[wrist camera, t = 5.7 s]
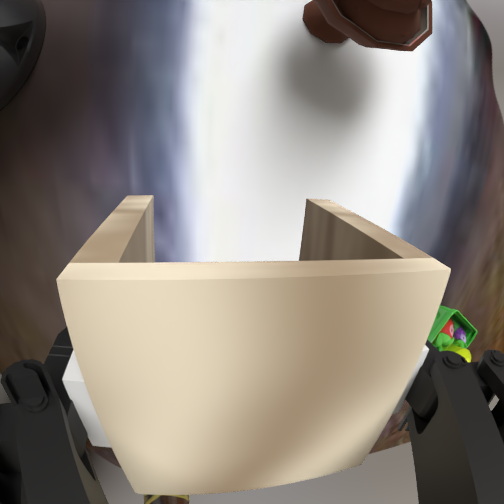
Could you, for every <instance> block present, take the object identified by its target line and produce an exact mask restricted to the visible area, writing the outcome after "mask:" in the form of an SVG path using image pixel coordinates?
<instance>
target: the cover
mask: <svg viewBox="0 0 504 504" xmlns="http://www.w3.org/2000/svg"><path fill="white" fill-rule="evenodd" d="M450 272H451V269H450V268H448V267H447V266H445V265H444V264H442V263H440V262H439V261H437V260H436V259H434V258H432V257H431V256H429V255H427V254H426V253H424V252H422V251H421V250H419V249H417V248H416V247H414V246H412V245H411V244H409V243H407V242H405V241H404V240H402V239H400V238H398V237H397V236H395V235H393V234H391V233H390V232H388V231H386V230H384V229H382V228H381V227H379V226H377V225H375V224H373V223H372V222H370V221H368V220H366V219H364V218H362V217H361V216H359V215H357V214H355V213H353V212H351V211H349V210H347V209H345V208H344V207H342V206H340V205H338V204H336V203H334V202H332V201H330V200H323V199H306V208H305V217H304V225H303V233H302V241H301V249H300V257H299V261H263V262H176V263H155V251H154V219H153V195H142V196H127V197H126V198H125V199H124V200H123V201H122V202H121V203H120V204H119V205H118V206H117V208H116V209H115V210H114V211H113V212H112V213H111V214H110V215H109V216H108V217H107V219H106V220H105V221H104V222H103V223H102V224H101V225H100V227H99V228H98V229H97V230H96V231H95V232H94V233H93V235H92V236H91V237H90V238H89V239H88V240H87V242H86V243H85V244H84V245H83V246H82V248H81V249H80V250H79V251H78V253H77V254H76V255H75V256H74V257H73V259H72V260H71V261H70V262H69V264H68V265H67V266H66V268H65V269H64V270H63V271H62V273H61V274H60V275H59V277H58V278H57V279H56V280H57V285H58V290H59V295H60V299H61V304H62V308H63V312H64V316H65V320H66V324H67V328H68V332H69V335H70V339H71V342H72V346H73V349H74V352H75V356H76V359H77V362H78V365H79V368H80V371H81V374H82V377H83V380H84V383H85V385H86V388H87V391H88V393H89V396H90V399H91V401H92V404H93V406H94V409H95V411H96V414H97V416H98V419H99V421H100V423H101V426H102V428H103V430H104V432H105V435H106V437H107V439H108V441H109V443H110V445H111V447H112V449H113V452H114V454H115V456H116V458H117V460H118V462H119V463H120V465H121V467H122V469H123V471H124V473H125V475H126V477H127V478H128V480H129V482H130V484H131V486H132V487H133V489H134V491H135V493H136V494H150V495H193V494H213V493H226V492H235V491H245V490H252V489H259V488H266V487H272V486H278V485H283V484H289V483H294V482H298V481H303V480H308V479H312V478H316V477H320V476H324V475H328V474H332V473H335V472H339V471H342V470H346V469H349V468H352V467H356V466H359V465H361V464H362V463H363V461H364V460H365V458H366V457H367V455H368V453H369V452H370V450H371V449H372V447H373V445H374V444H375V442H376V441H377V439H378V437H379V436H380V434H381V432H382V430H383V429H384V427H385V425H386V423H387V422H388V420H389V418H390V416H391V415H392V413H393V411H394V409H395V407H396V405H397V403H398V401H399V399H400V398H401V396H402V394H403V392H404V390H405V388H406V386H407V383H408V381H409V379H410V377H411V375H412V373H413V371H414V369H415V366H416V364H417V362H418V360H419V357H420V355H421V353H422V350H423V348H424V346H425V343H426V341H427V338H428V336H429V333H430V331H431V328H432V325H433V323H434V320H435V317H436V315H437V312H438V309H439V306H440V303H441V300H442V297H443V294H444V291H445V288H446V285H447V282H448V278H449V275H450Z"/></svg>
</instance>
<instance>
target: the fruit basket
mask: <svg viewBox="0 0 504 504" xmlns="http://www.w3.org/2000/svg"><path fill="white" fill-rule="evenodd" d="M476 334H477V330H476V329H475V328H474V327H473V326H472V325H471V324H470V323H469V322H468V320H467V319H466V318H465V317H464V316H463V315H462V314H461V313H460V312H459V311H458V310H455V309H449V308H447V307H444V306H441V305H440V306H439V309H438V312H437V315H436V317H435V320H434V323H433V325H432V328H431V331H430V333H429V336H428V338H427V340H429V341H430V342H431V343H432V344H433V345H434V346H435V347H436V348H437V349H438V350H439V351H446V350H448V351H453V352H456V353H458V354H460V355H461V356H463V357H464V358H465V359H466V360H467V362H471V354H470V352H469V350H467V349H466V348H467V347H468V346H469V345H470V343H471V342H472V341H473V339H474V337H475V336H476Z"/></svg>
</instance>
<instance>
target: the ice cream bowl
mask: <svg viewBox="0 0 504 504" xmlns="http://www.w3.org/2000/svg"><path fill="white" fill-rule="evenodd" d="M303 20H304V22H305V24H306V26H307V27H308V29H309V31H310V33H311V34H313V35H314V36H316V37H318V38H319V39H321V40H322V41H324V42H326V43H342V42H343V41H344V40H346V39H347V38H348V37H349V38H351V39H352V40H353V41H355V42H356V43H358V44H359V45H362V46H364V47H370V48H381V49H390V50H398V51H413V50H414V49H415V48H417V47H418V46H419V45H420V44H421V43H422V42H423V41H424V40H425V39H426V38H427V37H429V36H430V35H431V34H432V1H431V0H312V1H311V2H309V3H308V4H306V5H305V7H304V14H303Z"/></svg>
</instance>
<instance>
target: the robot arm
mask: <svg viewBox="0 0 504 504" xmlns="http://www.w3.org/2000/svg"><path fill="white" fill-rule="evenodd" d="M45 28H46V16H45V10H44V7H43V5H42V2H41V1H40V0H0V110H1V109H2V108H3V107H4V106H6V105H7V104H8V103H9V102H10V101H11V99H12V98H13V97H14V96H15V95H16V94H17V92H18V91H19V90H20V88H21V87H22V86H23V84H24V83H25V81H26V79H27V78H28V76H29V74H30V73H31V71H32V69H33V67H34V65H35V63H36V61H37V58H38V56H39V53H40V50H41V47H42V44H43V40H44V35H45ZM1 383H2V385H3V387H4V389H5V391H6V393H7V395H8V397H9V398H10V400H11V402H12V403H6V404H0V504H108V501H107V499H106V497H105V495H104V492H103V490H102V488H101V485H100V483H99V480H98V478H97V475H96V472H95V470H94V467H93V464H92V462H91V459H90V456H89V454H88V452H87V451H86V449H85V446H86V440H87V436H88V438H89V440H90V441H91V443H92V445H93V446H101V447H111V445H110V443H109V441H108V439H107V437H106V435H105V432H104V430H103V428H102V426H101V423H100V421H99V419H98V416H97V414H96V411H95V409H94V406H93V404H92V401H91V399H90V396H89V393H88V391H87V388H86V385H85V383H84V380H83V377H82V374H81V371H80V368H79V365H78V362H77V359H76V356H75V352H74V349H73V346H72V342H71V339H70V335H69V332H68V328H67V327H66V328H65V329H64V330H63V331H62V332H61V333H59V334H58V336H57V338H56V340H55V342H54V344H53V347H52V348H51V350H50V352H49V355H48V357H47V359H46V361H45V363H44V364H42V363H41V362H39V361H36V360H22V361H19V362H16V363H14V364H12V365H11V366H9V367H8V368H7V369H6V370H5V372H4V373H3V374H2V378H1ZM495 395H496V396H497V397H498V399H499V401H498V403H497V405H496V406H495V407H494V409H493V410H492V411H491V410H490V408H489V406H488V405H489V404H490V402H491V400H492V399H493V397H494V396H495ZM405 399H406V401H407V402H408V403H409V405H410V408H409V409H408V411H407V413H406V415H405V416H404V418H403V420H402V421H401V423H400V425H399V429H398V431H401V430H402V429H403V427H404V425H405V424H406V422H408V426H407V427H406V429H405V431H409V433H410V439H411V445H412V451H413V458H414V465H415V472H416V481H417V490H418V499H419V504H504V354H503V353H501V352H500V351H496V350H487V351H485V352H484V353H483V355H482V357H481V359H480V361H479V362H467V360H466V359H465V358H464V357H463V356H461V355H460V354H458V353H456V352H453V351H448V350H446V351H439V350H438V349H437V348H436V347H435V346H434V345H433V344H432V343H431V342H430V341H429V340H427V341H426V343H425V346H424V348H423V350H422V353H421V355H420V357H419V360H418V362H417V364H416V366H415V369H414V371H413V373H412V375H411V377H410V379H409V381H408V383H407V386H406V388H405V390H404V392H403V394H402V396H401V398H400V399H399V401H398V403H397V405H396V407H395V409H394V411H393V413H396V412H399V410H400V408H401V407H402V405H403V403H404V401H405ZM393 413H392V414H393Z"/></svg>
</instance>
